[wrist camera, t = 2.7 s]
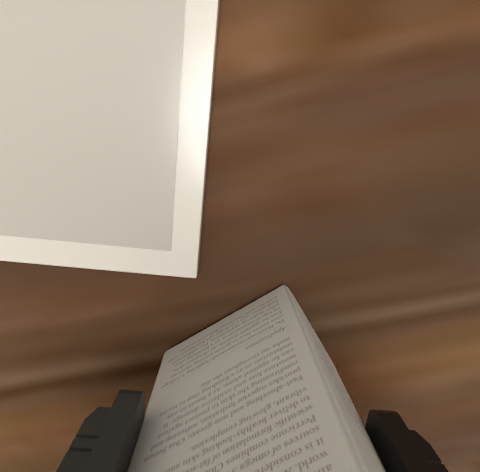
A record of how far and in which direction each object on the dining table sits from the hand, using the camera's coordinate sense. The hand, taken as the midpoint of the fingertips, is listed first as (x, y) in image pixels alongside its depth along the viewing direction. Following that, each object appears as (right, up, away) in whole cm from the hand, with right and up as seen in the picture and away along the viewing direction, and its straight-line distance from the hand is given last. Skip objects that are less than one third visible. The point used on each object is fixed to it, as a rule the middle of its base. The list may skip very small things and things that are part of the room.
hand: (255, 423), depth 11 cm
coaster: (-7, +10, +1) cm, 13 cm away
